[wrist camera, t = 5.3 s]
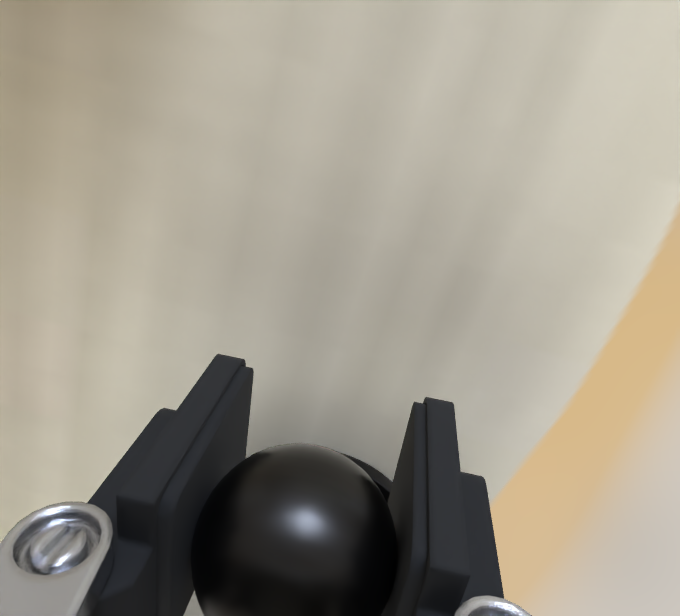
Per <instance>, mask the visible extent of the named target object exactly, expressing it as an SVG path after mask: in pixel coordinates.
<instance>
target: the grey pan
mask: <svg viewBox="0 0 680 616" xmlns="http://www.w3.org/2000/svg"><path fill="white" fill-rule="evenodd" d="M396 565H397V537H396V531H395V526H394V521H393V518H392V515H391V512H390V509H389V507H388V504H387V502H386V500H385V498H384V496H383V495H382V493H381V491H380V489H379V488H378V486H377V485H376V484H375V483H374V481H373V480H372V479H371V478H370V476H369V475H368V474H367V473H366V472H365V471H364V470H363V469H362V468H361V467H359V466H358V465H357V464H356V463H354V462H353V461H352V460H350V459H349V458H347V457H346V456H344V455H342V454H340V453H338V452H336V451H334V450H331V449H328V448H325V447H322V446H318V445H312V444H302V443H297V444H286V445H278V446H274V447H270V448H268V449H265V450H262V451H260V452H258V453H255V454H253V455H251V456H250V457H248V458H246V459H245V460H243V461H242V462H240V463H239V464H237V465H236V466H235V467H234V468H232V469H231V470H230V471H229V472H228V473H227V474H226V475H225V476H224V477H223V478H222V479H221V481H220V482H219V483H218V484H217V486H216V487H215V488H214V489H213V491H212V492H211V494H210V496H209V497H208V499H207V501H206V503H205V505H204V506H203V508H202V511H201V513H200V516H199V519H198V521H197V524H196V527H195V532H194V536H193V541H192V551H191V571H192V581H193V586H194V592H193V595H192V597H191V599H190V602H189V604H188V606H187V608H186V611H185V613H184V615H183V616H381V615H382V613H383V610H384V608H385V606H386V604H387V602H388V600H389V597H390V595H391V591H392V588H393V583H394V579H395V574H396Z"/></svg>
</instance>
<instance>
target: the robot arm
mask: <svg viewBox="0 0 680 616" xmlns="http://www.w3.org/2000/svg"><path fill="white" fill-rule="evenodd" d="M252 384H253V368H249V367H246V363H245V360H244V359H240V358H236V357H231V356H226V355H221V354H217V355H216V356H215V358H214V359H213V360H212V362H211V363H210V365H209V366H208V367H207V369H206V370H205V372H204V373H203V374H202V376H201V377H200V379H199V380H198V381H197V383H196V384H195V385H194V387H193V388H192V390H191V391H190V392H189V394H188V395H187V397H186V398H185V399H184V401H183V402H182V404H181V405H180V406H179V408H178V409H177V411H176V410H171V409H166V408H163V409H160V410H159V411H158V412H157V413H156V414H155V416H154V417H153V418H152V420H151V421H150V422H149V424H148V425H147V426H146V427H145V429H144V430H143V431H142V433H141V434H140V435H139V437H138V438H137V439H136V440H135V442H134V443H133V444H132V446H131V447H130V448H129V450H128V451H127V452H126V453H125V455H124V456H123V457H122V459H121V460H120V461H119V463H118V464H117V465H116V466H115V468H114V469H113V470H112V472H111V473H110V474H109V476H108V477H107V478H106V479H105V481H104V482H103V483H102V485H101V486H100V487H99V488H98V490H97V491H96V492H95V494H94V495H93V496H92V498H91V499H90V500H89V501H88V503H84V502H62V503H57V504H53V505H49V506H46V507H44V508H41V509H39V510H37V511H34V512H32V513H31V514H29V515H28V516H26V517H25V518H23V519H22V520H20V521H19V522H18V523H17V524H16V525H15V526H14V527H13V528H12V529H11V530H10V531H9V533H8V534H7V535H6V536H5V538H4V539H3V540H2V542H1V543H0V616H183V615H184V613H185V611H186V608H187V606H188V604H189V602H190V599H191V597H192V595H193V592H194V586H193V581H192V571H191V551H192V541H193V536H194V532H195V527H196V524H197V521H198V519H199V516H200V513H201V511H202V508H203V506H204V505H205V503H206V501H207V499H208V497H209V496H210V494H211V492H212V491H213V489H214V488H215V487H216V486H217V484H218V483H219V482H220V481H221V479H222V478H223V477H224V476H225V475H226V474H227V473H228V472H229V471H230V470H231V469H232V468H234V467H235V466H236V465H237V464H239V463H240V462H242V461H243V460H245V456H246V446H247V436H248V425H249V415H250V405H251V394H252ZM388 507H389V509H390V512H391V515H392V518H393V521H394V526H395V531H396V537H397V565H396V574H395V579H394V583H393V588H392V591H391V595H390V597H389V600H388V602H387V604H386V606H385V608H384V610H383V613H382V615H381V616H532V615H530V614H529V613H527V612H526V611H525V610H524V609H522V608H521V607H520V606H518V605H516V604H514V603H512V602H510V601H508V600H506V599H504V594H503V588H502V582H501V575H500V569H499V563H498V557H497V550H496V544H495V538H494V531H493V525H492V519H491V513H490V506H489V500H488V493H487V487H486V483H485V479H484V478H483V477H482V476H477V475H473V474H468V473H463V472H460V462H459V451H458V441H457V431H456V421H455V411H454V404H453V403H452V402H448V401H443V400H438V399H433V398H429V397H426V398H425V399H424V402H423V404H422V403H417V402H414V403H413V406H412V410H411V414H410V418H409V422H408V425H407V429H406V433H405V437H404V441H403V445H402V449H401V453H400V456H399V460H398V464H397V468H396V472H395V476H394V480H393V484H392V488H391V491H390V495H389V499H388Z"/></svg>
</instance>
